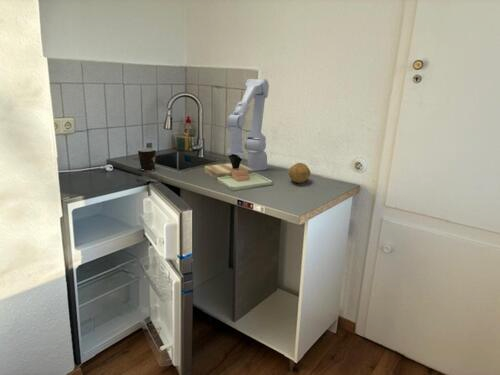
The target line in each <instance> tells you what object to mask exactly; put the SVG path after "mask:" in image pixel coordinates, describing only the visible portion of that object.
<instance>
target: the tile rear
mask: <svg viewBox="0 0 500 375" xmlns="http://www.w3.org/2000/svg"><path fill="white" fill-rule="evenodd" d="M231 174H233V175H234V176H236V177H237V176H245V175H248V170H246V169H244V168H237V169H231Z"/></svg>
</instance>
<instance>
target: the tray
mask: <svg viewBox="0 0 500 375" xmlns="http://www.w3.org/2000/svg"><path fill="white" fill-rule="evenodd" d="M248 175H249V176H250V180H247V181H240V182H237V181H235V180H234V179H232V176H226V177H218V178H217V179H216V182H217V183H219V184H220V185H222V186H224V187H225V188H227V189H228V190H229V191H231V192H234V191H235V192H236V191H240V190H241V191H242V190H246V189H255V188H260V187H268V186H273V185H274V181H273V180H270V179H269V178H267V177H265V176H263V175H261V174H259V173H257V172H253V173H250V174H248Z"/></svg>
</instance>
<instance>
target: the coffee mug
mask: <svg viewBox="0 0 500 375" xmlns="http://www.w3.org/2000/svg"><path fill="white" fill-rule="evenodd" d="M156 150H157V148H154V147H141V148H138V149H137V154H138V159H139V164H140V169H144V170H152V169H154V170H155V169H156V168H155V166H156V165H155V164H156V152H157V151H156ZM152 171H153V170H152Z"/></svg>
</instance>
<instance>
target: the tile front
mask: <svg viewBox="0 0 500 375" xmlns="http://www.w3.org/2000/svg"><path fill="white" fill-rule="evenodd" d="M232 179H234V180H235V181H237V182H240V181H247V180H250V176H249V175H245V176H237V177H236V176H234V175H233V174H232Z"/></svg>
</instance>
